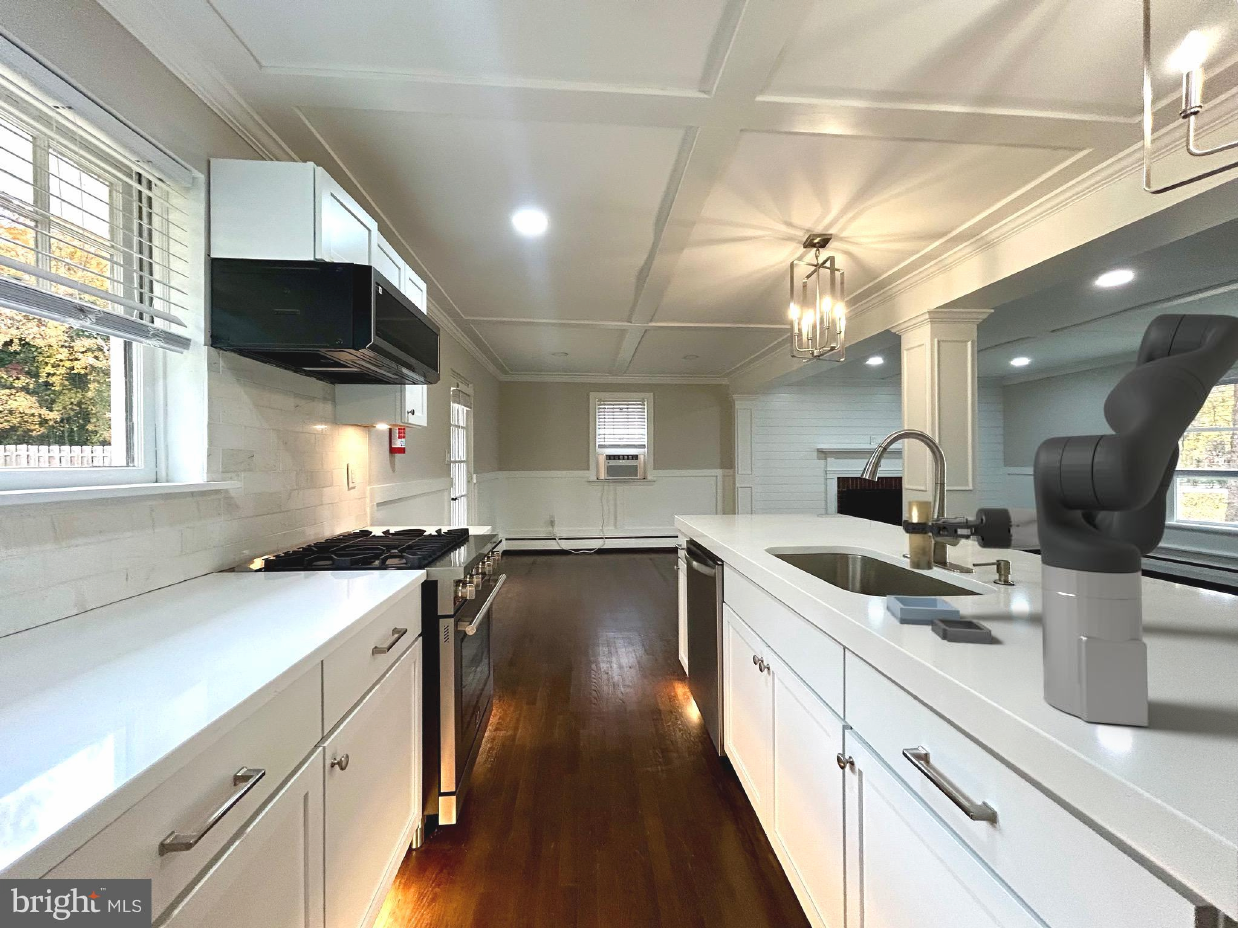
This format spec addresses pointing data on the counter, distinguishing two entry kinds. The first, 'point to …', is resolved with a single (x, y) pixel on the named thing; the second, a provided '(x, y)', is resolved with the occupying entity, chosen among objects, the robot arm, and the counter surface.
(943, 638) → the grey square holder
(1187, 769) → the counter surface
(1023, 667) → the counter surface
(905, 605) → the tray
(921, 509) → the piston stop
